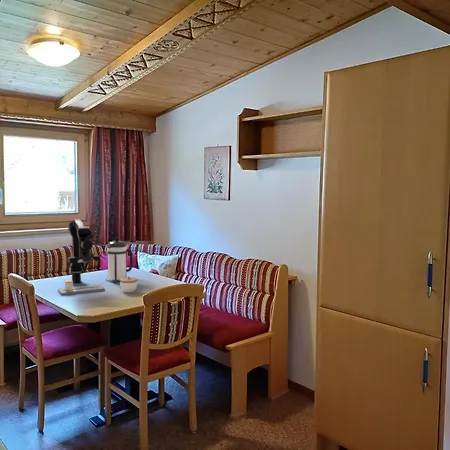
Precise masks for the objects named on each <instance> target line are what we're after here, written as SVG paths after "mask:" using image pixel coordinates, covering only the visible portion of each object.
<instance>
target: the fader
mask: <svg viewBox="0 0 450 450" xmlns="http://www.w3.org/2000/svg"><path fill="white" fill-rule="evenodd" d="M73 287H74V284H73V281H72V279H67V280H64V288H65V289H66V290H73Z"/></svg>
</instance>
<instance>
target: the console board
mask: <svg viewBox="0 0 450 450" xmlns="http://www.w3.org/2000/svg"><path fill="white" fill-rule="evenodd" d="M104 291H106V290H105V287H104V286H102V284H100V283H99V284H89V285H88V284H87V285H77V286H73V290H66V289H65V287H60V288H57V292H58V293H59V295H60V296H68V295H69V296H70V295H77V294H78V295H80V294H88V293H89V294H90V293H97V292H104Z"/></svg>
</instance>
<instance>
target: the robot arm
mask: <svg viewBox="0 0 450 450" xmlns="http://www.w3.org/2000/svg"><path fill="white" fill-rule="evenodd" d="M67 228H68V229H67V231H68V233H69V235H70V236H71V243H72V244H71V245H72V256H68V257H67V262H68V263H70V265H69V268H68V273H69V275H71V280H72V281H73V285H74V284H81V283H83V281H82V274H84V273H85V274H86V271H87V268H88V266H89V265H90V263H92V260H93V261H95V262H96V261H98V262H99V261H101V256H100V255H98V254H95V253H94V252H90V250H91V249H92V248H93V243H92V241H91V240H92V238H93V235H92V230H91V229H90V227H88V226H85V225H84V223H83V221H82V219H78V218H77V219H72V221H71V222H69V223H68V227H67Z"/></svg>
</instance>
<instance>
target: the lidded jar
mask: <svg viewBox="0 0 450 450" xmlns="http://www.w3.org/2000/svg"><path fill="white" fill-rule="evenodd" d="M138 280H139V279H138V278H137V277H131V276H127V278H122V279H120V280H119V284H120V288H121V290H122V291H123V292H124V293H133V292H134V291H135V290H137V287H138Z"/></svg>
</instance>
